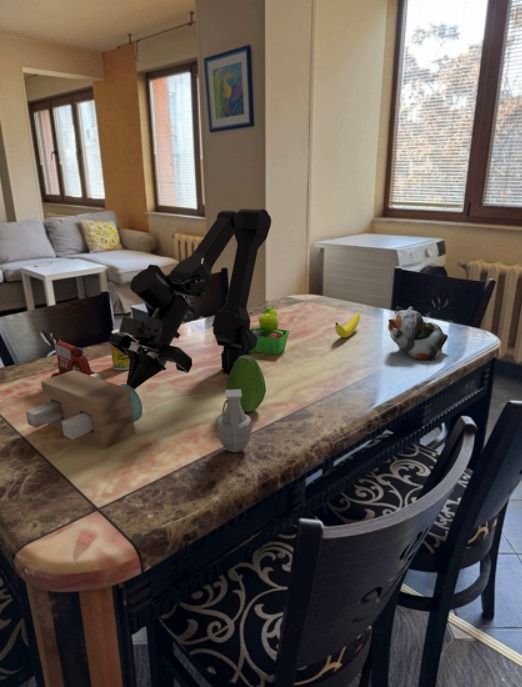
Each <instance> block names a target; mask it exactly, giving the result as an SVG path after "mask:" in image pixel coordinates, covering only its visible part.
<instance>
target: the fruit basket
mask: <svg viewBox="0 0 522 687" xmlns="http://www.w3.org/2000/svg"><path fill="white" fill-rule="evenodd" d="M258 322H259V327H257V326H256V327H255V326H254V327H250V330H251V331H252V332H253V333H254V335H255V336H256V337H257V338H258V340H257V345H256V347H254V349H253V350H251V352H256V353H264V354H265V353H266V354H273V355H280V354H281V353H282V352H283V351H284V350H285V349H286V345H287V342H288V338H289V335H290V330H288V329H282V328H281V329H280V328H279V329H278V327H279V319H278V312H277V311H276V310H275V309H274V307H270V306H269V307H266V308H265V309H264V311H263V312H262V315H261V316H260V317H259V318H258Z"/></svg>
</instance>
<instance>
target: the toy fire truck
mask: <svg viewBox="0 0 522 687" xmlns="http://www.w3.org/2000/svg"><path fill="white" fill-rule="evenodd" d="M54 349H55V350H54V351H55V354H56V357H57V358H56V359H57V367H58V371H57V372H54V373H52V374H51V376H50V378H52V377H55V376H58V375H61V374H64V373H66V372H69V371H72V370H75V371H78V372H81V373H84V374H87V375H92V374H97V373H96V372H95V371H92V369H91V366H90V363H89V361H88V358H87V357H86V356H85V355H84V349H83V348H82V347H76V346H75V345H72V344H70V343H67V342H64V341H57V342H55V343H54Z"/></svg>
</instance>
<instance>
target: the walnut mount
mask: <svg viewBox="0 0 522 687" xmlns="http://www.w3.org/2000/svg"><path fill="white" fill-rule="evenodd" d="M40 382H41V388H42V390H41V391H42V395H43V401H44V402H43V403H44V404H42V405H39V406H37V407H34V408H31V409H29V410H26V411H25V414H26V421H27V424H28V425H29V426H31V427H33V428H35V429H38V428H40V427H43V426H45V425H49V426H52V427H54V428H56V429H58V430H60V431H62V432H63V426H62V422H63V421H65V420H67V419H69V418H72V417H74V416H76V415H79V414H81V413H83V412H85V413H87V414H90V415H92V423H93V430H92V431H90V432H88V433H86V434H83V435H81V436H79V437H77V438H78V439H80V440H82V441H84V442H86V443H88V444H90V445H93V446H95V447H97V448H99V449H101V450H103V451H104V450H106V449H108V448H110V447H112V446H113V445H116V444H118V443H120V442H122V441H124V440H125V439H127V438H129V437H131V436H133V435H135V433H136V432H135V422H134V421H133V412H132V402H131V393H130V389H128V388H125V387H122V386H119V385H120V384H116V383H112V382H109V381H107V380H106V379H105V378H104V377H103V376H102V375H100V374H99V373H96V374H92V375H87V374H84V373H81V372H78V371H75V370H72V371H69V372H66V373H64V374H61V375H58V376H55V377H52V378H51V377H50V378H47V379H44V380H41V381H40ZM77 438H76V439H77Z"/></svg>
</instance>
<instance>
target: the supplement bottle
mask: <svg viewBox="0 0 522 687" xmlns="http://www.w3.org/2000/svg"><path fill="white" fill-rule="evenodd" d="M119 329H120V328H117V329H114V330H112V331H111V335H112V334H113V333H116V332H118V333H119ZM122 334H126V335H129V334H128V333H122ZM129 336H130V335H129ZM109 345H110V352H111V360H112V368H113V369H114V370H116V371H129V363H130V360H129V356H126V355H124V354H123V353H121V352H120V351H119V350H117V349H116V348H115V347H113V346H112V345H111V344H109Z"/></svg>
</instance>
